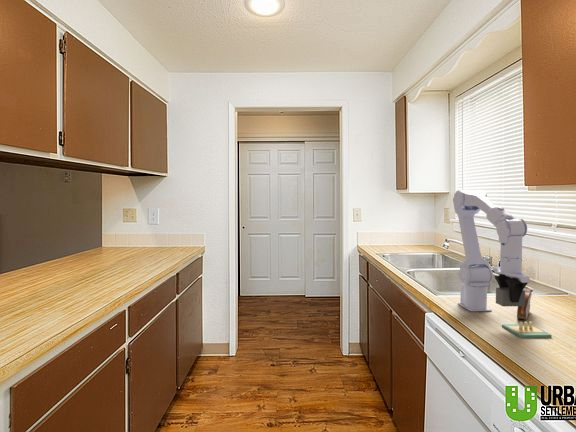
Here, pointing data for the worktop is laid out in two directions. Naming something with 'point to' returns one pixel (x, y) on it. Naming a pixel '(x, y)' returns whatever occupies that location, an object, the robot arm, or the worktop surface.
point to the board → (526, 330)
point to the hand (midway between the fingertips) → (510, 300)
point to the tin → (524, 307)
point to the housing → (508, 297)
